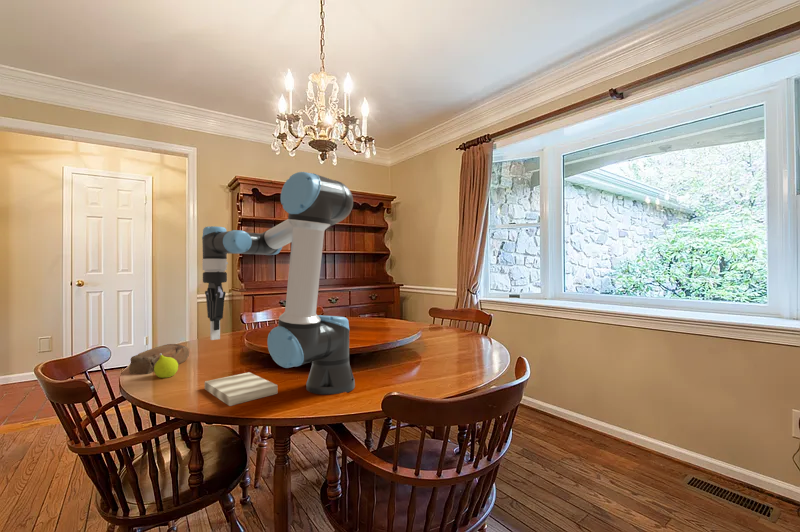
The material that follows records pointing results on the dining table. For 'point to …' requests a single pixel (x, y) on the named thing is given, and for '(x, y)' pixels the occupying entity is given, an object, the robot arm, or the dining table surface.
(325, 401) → the dining table surface
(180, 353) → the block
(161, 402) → the dining table surface
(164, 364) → the ornament
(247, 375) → the board
